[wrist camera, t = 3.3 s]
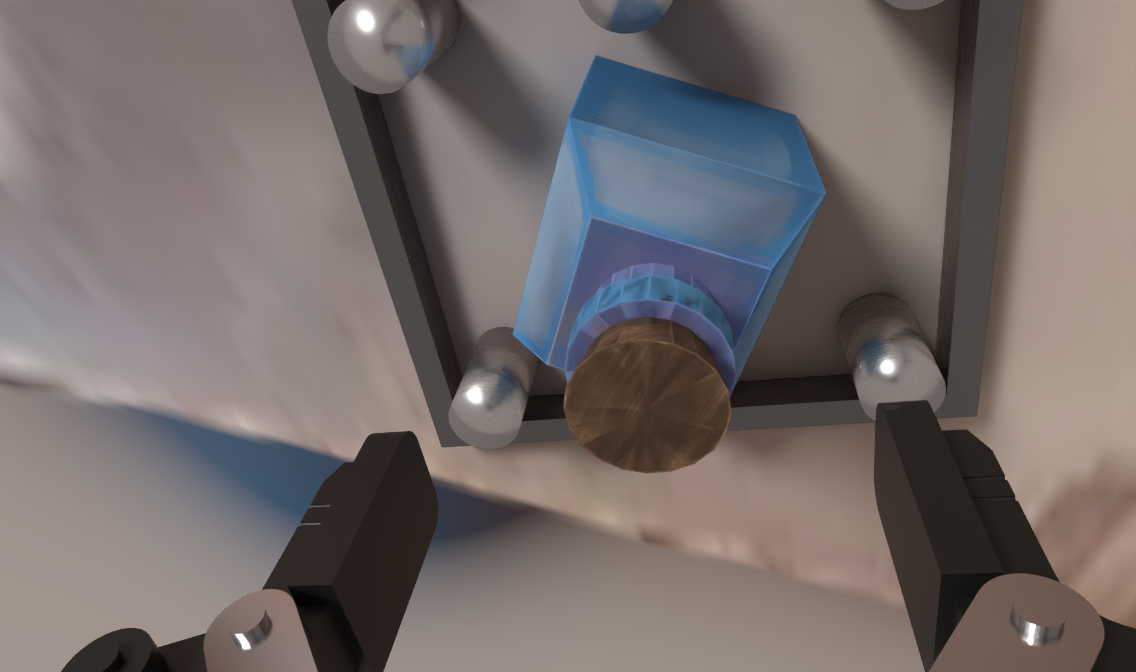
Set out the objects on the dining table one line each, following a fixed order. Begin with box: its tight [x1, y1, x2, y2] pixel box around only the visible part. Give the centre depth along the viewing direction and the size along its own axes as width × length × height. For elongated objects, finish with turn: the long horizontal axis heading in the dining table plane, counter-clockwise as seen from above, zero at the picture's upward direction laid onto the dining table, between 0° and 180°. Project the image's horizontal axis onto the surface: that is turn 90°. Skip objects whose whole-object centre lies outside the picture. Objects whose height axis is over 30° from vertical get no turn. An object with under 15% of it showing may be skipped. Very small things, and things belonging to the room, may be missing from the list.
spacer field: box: [292, 0, 1023, 449], centre depth 23 cm, size 19×18×4 cm
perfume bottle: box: [513, 55, 826, 473], centre depth 20 cm, size 6×6×12 cm
